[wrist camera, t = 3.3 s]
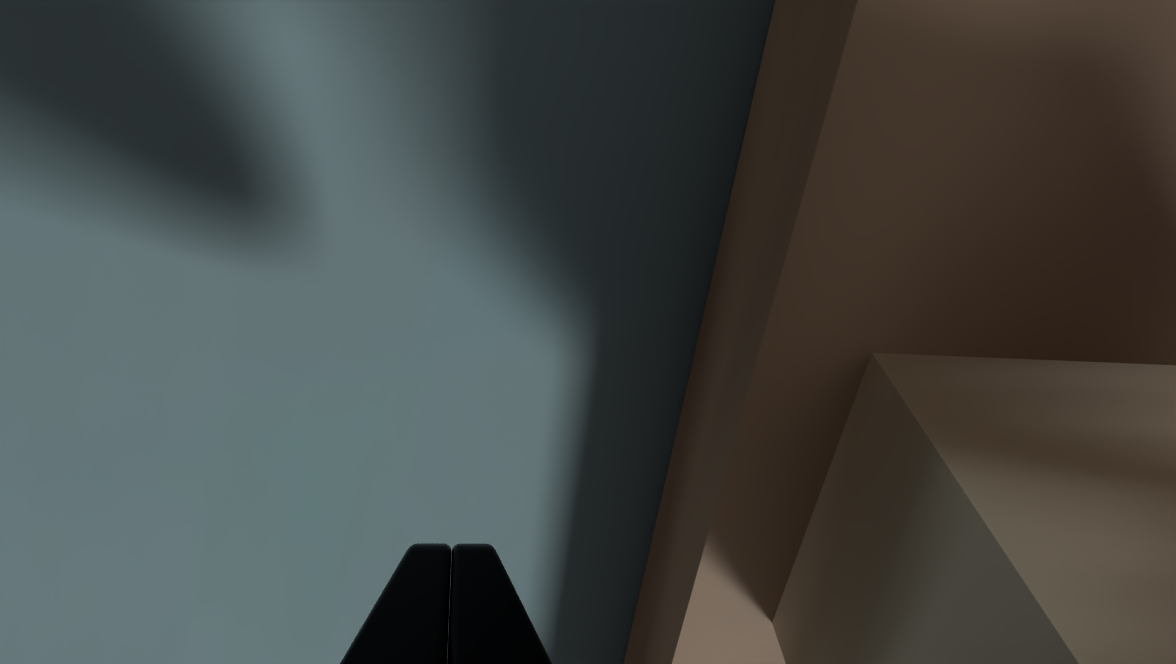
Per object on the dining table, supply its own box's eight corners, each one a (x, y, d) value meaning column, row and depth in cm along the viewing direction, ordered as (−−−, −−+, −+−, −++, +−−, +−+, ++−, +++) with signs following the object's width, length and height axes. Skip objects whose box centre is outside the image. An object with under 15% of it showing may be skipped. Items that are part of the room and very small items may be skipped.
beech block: (771, 622, 11) (911, 1034, 8) (872, 352, 9) (1145, 766, 5) (1069, 619, 12) (1330, 996, 8) (1239, 367, 10) (1711, 743, 6)
